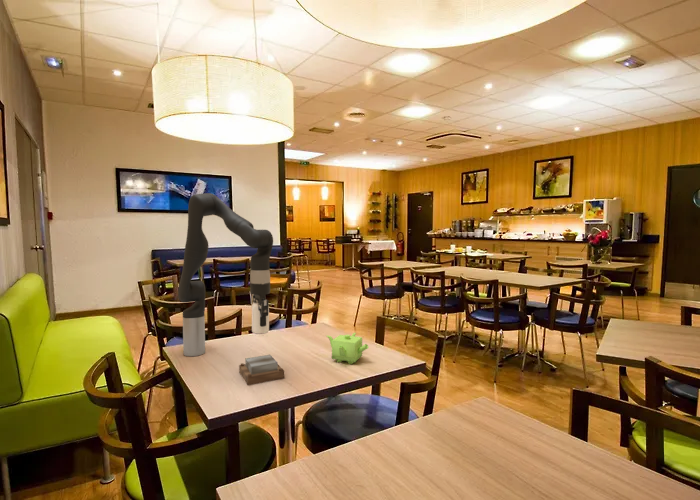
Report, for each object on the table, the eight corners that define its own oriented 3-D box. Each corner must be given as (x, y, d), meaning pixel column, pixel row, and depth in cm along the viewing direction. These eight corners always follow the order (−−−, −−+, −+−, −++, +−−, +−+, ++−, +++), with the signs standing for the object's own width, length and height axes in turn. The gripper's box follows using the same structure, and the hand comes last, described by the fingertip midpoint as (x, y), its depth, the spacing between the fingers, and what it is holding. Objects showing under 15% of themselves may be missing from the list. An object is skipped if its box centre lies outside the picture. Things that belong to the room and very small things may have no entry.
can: (264, 334, 145) (264, 303, 144) (249, 333, 146) (248, 302, 146) (271, 330, 151) (271, 300, 151) (256, 329, 153) (256, 299, 152)
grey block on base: (239, 372, 153) (239, 357, 152) (273, 366, 159) (273, 352, 159) (247, 385, 140) (247, 369, 140) (284, 378, 147) (284, 363, 147)
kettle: (325, 357, 171) (325, 332, 170) (354, 353, 177) (354, 329, 176) (338, 368, 157) (338, 341, 157) (369, 363, 163) (369, 337, 163)
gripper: (246, 279, 152) (246, 321, 153) (255, 284, 139) (255, 329, 140) (264, 278, 156) (264, 319, 157) (275, 283, 143) (275, 327, 144)
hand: (260, 323), depth 149 cm, fingers closed on can, 6 cm apart
